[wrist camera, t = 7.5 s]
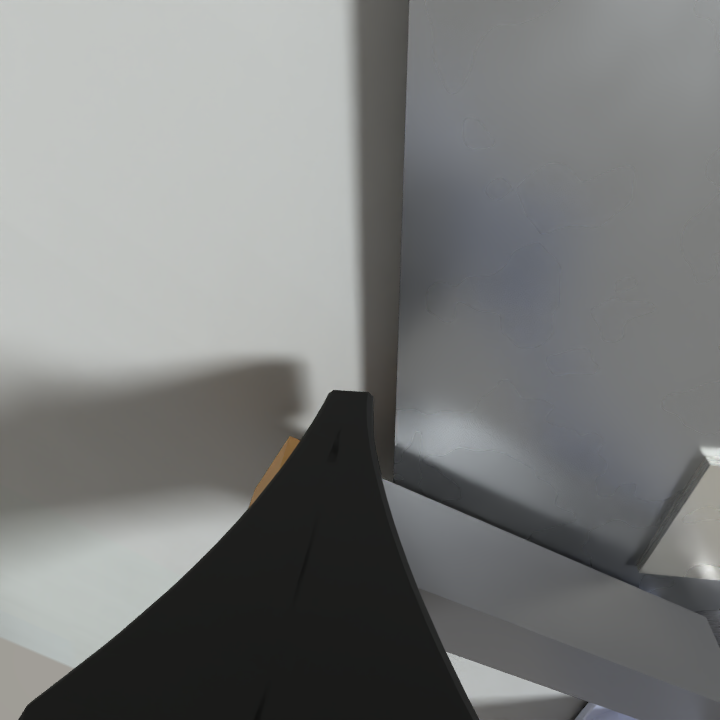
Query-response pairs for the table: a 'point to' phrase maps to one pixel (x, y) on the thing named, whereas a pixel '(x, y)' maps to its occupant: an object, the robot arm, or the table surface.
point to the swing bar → (551, 614)
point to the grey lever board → (567, 280)
